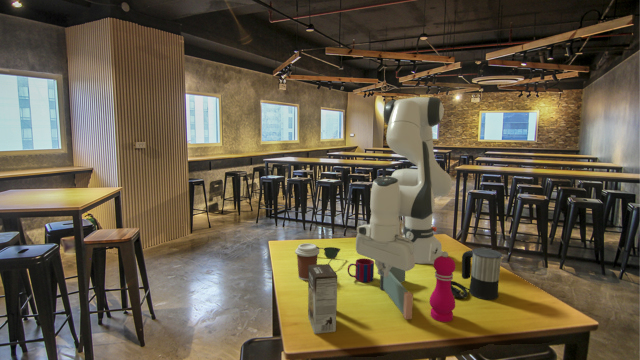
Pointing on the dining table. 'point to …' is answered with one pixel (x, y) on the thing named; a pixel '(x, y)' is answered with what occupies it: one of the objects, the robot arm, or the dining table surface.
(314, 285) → the coffee box
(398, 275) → the fence
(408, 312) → the grey-green hurdle bar
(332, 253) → the sunglasses
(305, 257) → the coffee cup
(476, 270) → the milk frother
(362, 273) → the mug
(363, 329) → the dining table surface
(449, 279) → the pepper mill
